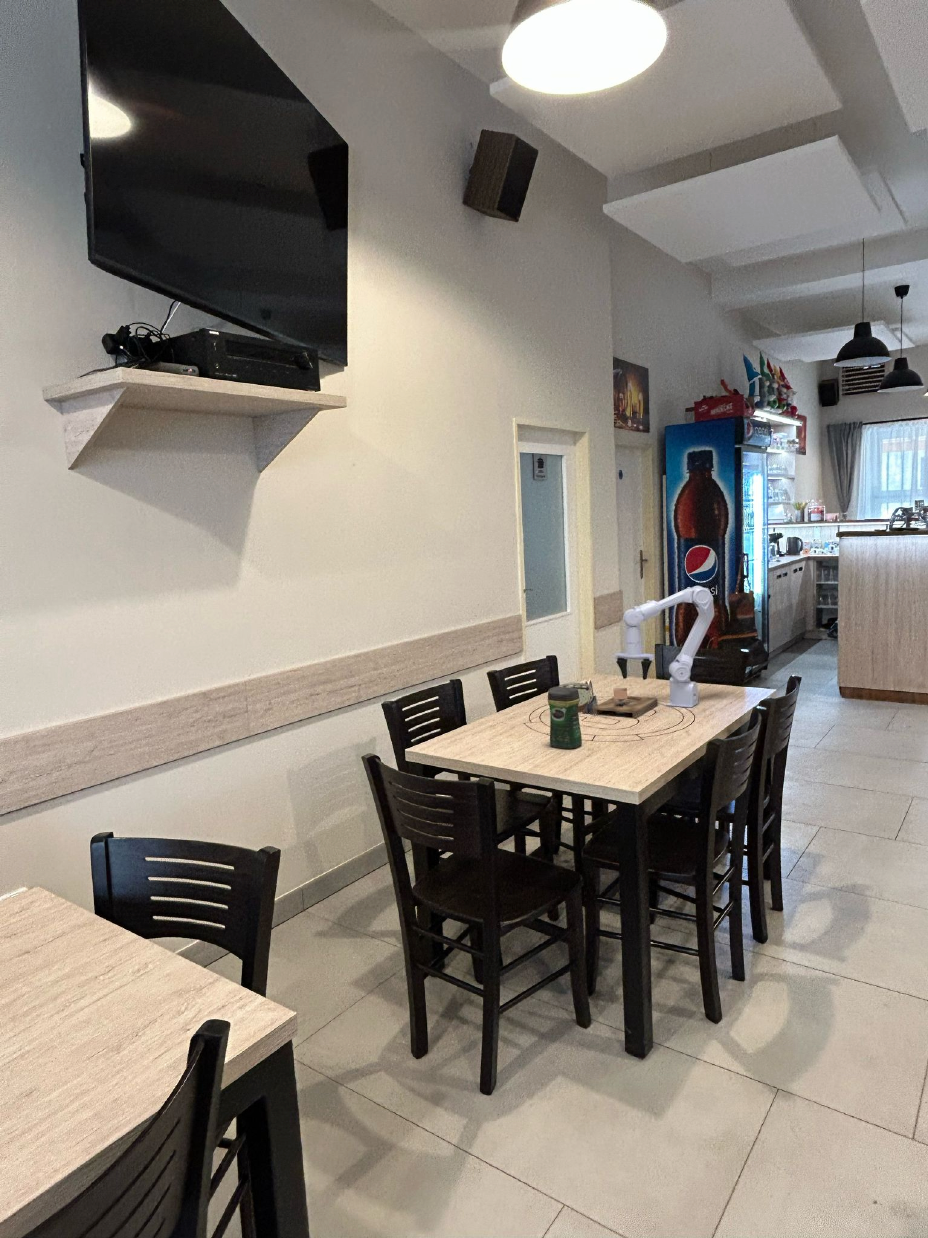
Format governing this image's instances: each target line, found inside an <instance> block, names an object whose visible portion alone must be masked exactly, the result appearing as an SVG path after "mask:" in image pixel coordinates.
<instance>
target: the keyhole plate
mask: <svg viewBox="0 0 928 1238" xmlns="http://www.w3.org/2000/svg"><path fill="white" fill-rule="evenodd" d="M625 700H630V701H631V700H632V702H630V703H628V704H626V705H624V707H620V706H618V699H614V696H613V697H611V698H608V699H606V700H605V701H603V702H601V703H599V704H597V705H594V706H593V708H592V709H593V715H594V714H596V715H595V716H597V714H598V715H600V714H602V713H603V711H604V712H605V711H609V712H610V711H611V712H614V711H619V712H628V713H632V719H638V718H639V716H640V717H641V716H643V715H644V714H647V713H648V712H650V711H652V710H653V709H655V708H656V707H658V705H659V704H658V703H659V702H658V697H645V696H631V695H627V699H623V702H624V701H625ZM633 701H636V702H633ZM637 717H638V718H637Z"/></svg>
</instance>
